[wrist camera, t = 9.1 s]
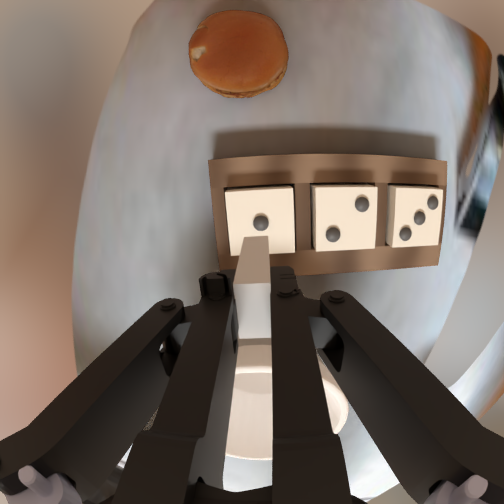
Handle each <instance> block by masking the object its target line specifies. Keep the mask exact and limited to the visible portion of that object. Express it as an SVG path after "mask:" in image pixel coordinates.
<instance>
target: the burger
mask: <svg viewBox="0 0 504 504" xmlns="http://www.w3.org/2000/svg"><path fill="white" fill-rule="evenodd" d="M189 58H190V65H191V69H192V70H193V72H194V74H195V76H197V77H198V78H199V79H200V80H201V82H202V83H203V84H204V85H205V86H207V87H208V88H209V89H210V90H212V91H213V92H216V93H218V94H221V95H222V96H224V97H228V98H234V97H235V98H244V97H247V98H249V97H253V96H256V95H258V94H260V93H262V92H265V91H267V90H271V89H273V88H274V87H276V86H277V85H278V84H279V83H280V81H281V80H282V78H283V77H284V75H285V72H286V69H287V61H288V48H287V45H286V42H285V40H284V36H283V33H282V31H281V29H280V27H279V26H278V24H277V23H276V22H275V21H274V20H273V19H271V18H270V17H268V16H265V15H263V14H260V13H256V12H250V11H241V10H228V11H222V12H218V13H215V14H212V15H210V16H209V17H207V18H206V19H205V20H204V21H202V22H201V23H200V24H199V26H198V29H197V30H196V31H195V33H194V34H193V35H192V37H191V40H190V42H189Z"/></svg>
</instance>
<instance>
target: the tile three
mask: <svg viewBox="0 0 504 504" xmlns="http://www.w3.org/2000/svg"><path fill="white" fill-rule="evenodd" d="M442 201H443V190H442V189H439V188H436V187H432V186H429V185H419V184H395V183H388V191H387V218H386V234H385V242H386V243H387V244H389V245H390V246H391V247H392V248H394V247H413V246H431V245H438V241H439V233H440V224H441V214H442Z"/></svg>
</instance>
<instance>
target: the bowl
mask: <svg viewBox="0 0 504 504" xmlns="http://www.w3.org/2000/svg"><path fill="white" fill-rule="evenodd" d="M238 344H239V347H238V355H237V363H236V371H235V379H234V387H233V395H232V403H231V411H230V420H229V428H228V436H227V444H226V452H225V455H227V456H231V457H236V458H242V459H251V460H272V440H273V410H272V351H271V338H246V339H239V333H238ZM317 358H318V362H319V367H320V371H321V376H322V381H323V385H324V390H325V395H326V400H327V405H328V410H329V415H330V420H331V425H332V430H333V432H334V434H337V433H338V432H339V431H340V430H341V429H342V427H343V425H344V424H345V422H346V419H347V415H348V411H349V408H348V400H347V398H346V396H345V395H344V393H343V392H342V390H341V389H340V387H339V385H338V384H337V382H336V381H335V379H334V377H333V376H332V374H331V373H330V371H329V370H328V369H327V368H326V366H325V365H324V363H323V362H322V360H321V359H320V357H319V356H318V354H317Z"/></svg>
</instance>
